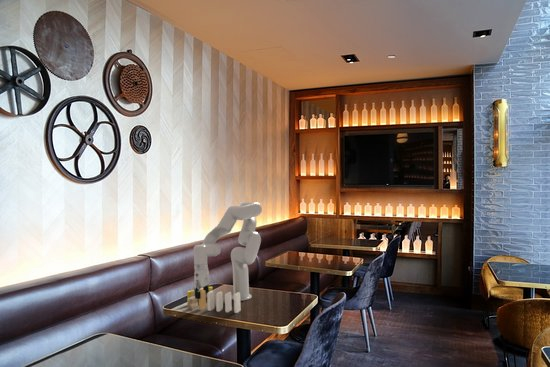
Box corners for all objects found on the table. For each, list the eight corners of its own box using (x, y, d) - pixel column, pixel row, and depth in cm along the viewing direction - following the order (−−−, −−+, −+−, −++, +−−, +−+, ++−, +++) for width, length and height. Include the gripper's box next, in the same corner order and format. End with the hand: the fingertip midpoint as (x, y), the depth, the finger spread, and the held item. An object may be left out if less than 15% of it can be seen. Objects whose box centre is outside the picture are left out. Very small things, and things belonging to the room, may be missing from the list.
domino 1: (199, 310, 224) (198, 292, 224) (203, 307, 229) (203, 290, 229) (201, 310, 224) (201, 292, 224) (206, 307, 229) (205, 290, 229)
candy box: (188, 305, 233) (188, 292, 233) (187, 305, 235) (186, 291, 235) (213, 300, 243) (212, 286, 243) (211, 299, 244) (211, 286, 244)
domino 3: (216, 311, 221) (215, 293, 221) (220, 308, 226) (219, 291, 225) (219, 311, 220) (218, 293, 220) (223, 308, 225) (222, 291, 225)
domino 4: (225, 312, 219) (224, 294, 219) (229, 309, 224) (228, 291, 224) (228, 312, 218) (227, 294, 218) (231, 309, 223) (231, 291, 223)
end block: (187, 309, 226) (187, 299, 226) (193, 306, 232) (192, 296, 232) (192, 309, 225) (192, 299, 225) (197, 306, 231) (197, 296, 231)
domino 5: (234, 312, 217) (233, 294, 217) (238, 309, 222) (237, 292, 222) (237, 313, 217) (236, 294, 217) (240, 310, 221) (240, 292, 221)
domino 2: (207, 310, 223) (207, 293, 222) (211, 307, 227) (211, 290, 227) (210, 310, 222) (209, 293, 222) (214, 308, 227) (213, 290, 227)
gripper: (199, 269, 217) (200, 301, 217) (213, 263, 233) (214, 292, 233) (187, 269, 219) (188, 300, 219) (202, 263, 236) (203, 291, 236)
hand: (202, 296), depth 226 cm, fingers open, 9 cm apart
